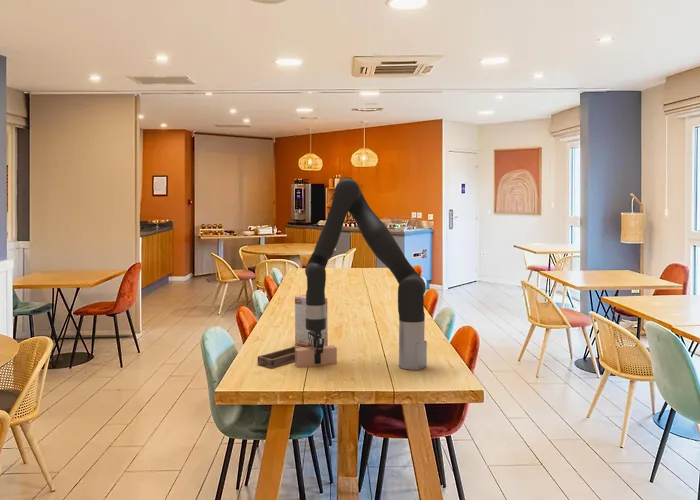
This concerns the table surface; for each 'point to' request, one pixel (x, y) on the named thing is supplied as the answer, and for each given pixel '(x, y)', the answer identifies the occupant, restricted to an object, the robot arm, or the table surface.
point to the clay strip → (308, 356)
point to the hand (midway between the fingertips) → (315, 361)
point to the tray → (277, 358)
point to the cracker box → (300, 325)
